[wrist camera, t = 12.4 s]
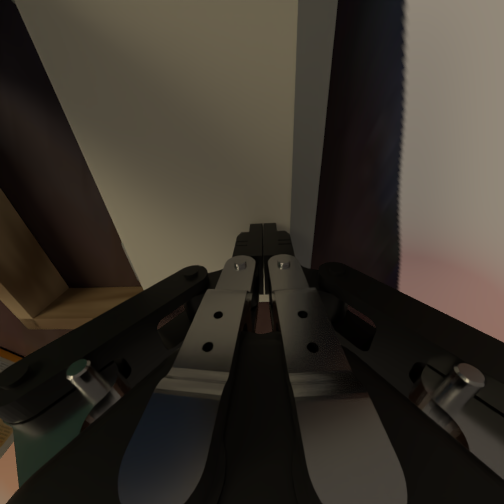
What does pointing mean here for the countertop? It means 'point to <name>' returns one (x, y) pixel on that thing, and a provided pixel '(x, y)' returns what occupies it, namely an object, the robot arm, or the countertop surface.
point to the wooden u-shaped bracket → (45, 282)
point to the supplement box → (3, 434)
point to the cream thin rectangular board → (193, 117)
